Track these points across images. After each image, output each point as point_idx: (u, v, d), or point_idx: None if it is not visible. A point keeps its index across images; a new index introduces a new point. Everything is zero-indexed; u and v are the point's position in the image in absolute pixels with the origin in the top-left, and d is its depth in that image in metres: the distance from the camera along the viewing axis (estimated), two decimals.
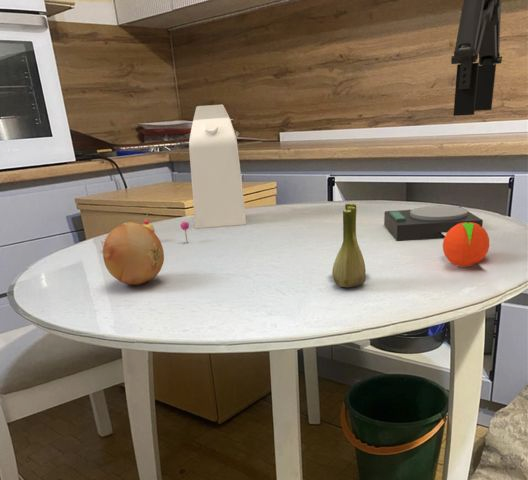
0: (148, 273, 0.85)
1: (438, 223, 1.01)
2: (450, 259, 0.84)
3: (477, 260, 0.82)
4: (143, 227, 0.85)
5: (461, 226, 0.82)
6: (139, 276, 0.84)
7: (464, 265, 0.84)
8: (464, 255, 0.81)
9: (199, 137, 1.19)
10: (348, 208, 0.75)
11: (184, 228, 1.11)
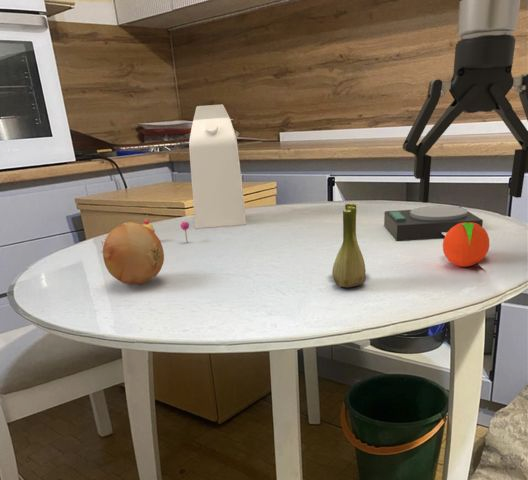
0: (148, 273, 0.85)
1: (438, 223, 1.01)
2: (450, 259, 0.84)
3: (477, 260, 0.82)
4: (143, 227, 0.85)
5: (461, 226, 0.82)
6: (139, 276, 0.84)
7: (464, 265, 0.84)
8: (464, 255, 0.81)
9: (199, 137, 1.19)
10: (348, 208, 0.75)
11: (184, 228, 1.11)
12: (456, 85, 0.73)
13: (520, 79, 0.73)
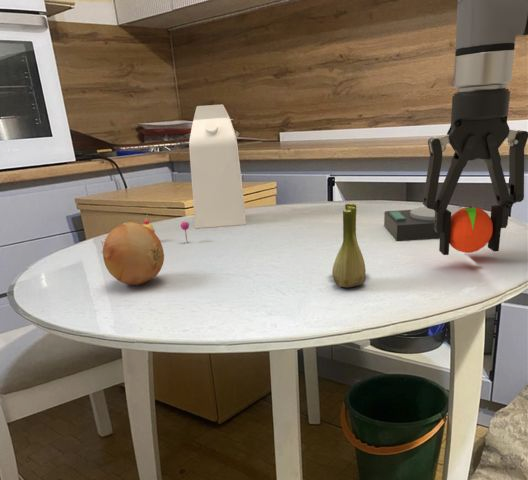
0: (148, 273, 0.85)
1: None
2: (453, 245, 0.83)
3: (481, 245, 0.81)
4: (143, 227, 0.85)
5: (464, 211, 0.81)
6: (139, 276, 0.84)
7: (468, 251, 0.82)
8: (468, 240, 0.80)
9: (199, 137, 1.19)
10: (348, 208, 0.75)
11: (184, 228, 1.11)
12: (454, 135, 0.76)
13: (515, 133, 0.76)
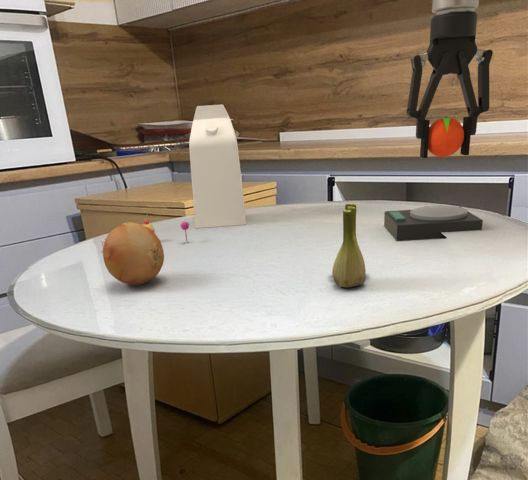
0: (148, 274, 0.85)
1: (438, 223, 1.01)
2: (431, 149, 0.99)
3: (454, 149, 0.98)
4: (143, 227, 0.85)
5: (440, 120, 0.97)
6: (139, 276, 0.84)
7: (443, 154, 0.99)
8: (443, 143, 0.97)
9: (199, 137, 1.19)
10: (348, 208, 0.75)
11: (184, 228, 1.11)
12: (432, 52, 0.92)
13: (482, 52, 0.93)
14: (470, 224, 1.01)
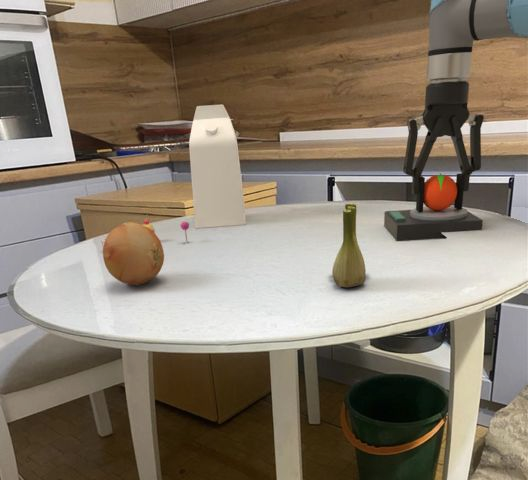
0: (148, 274, 0.85)
1: (438, 223, 1.01)
2: (426, 204, 1.06)
3: (447, 204, 1.04)
4: (143, 227, 0.85)
5: (435, 177, 1.04)
6: (139, 276, 0.84)
7: (437, 209, 1.05)
8: (437, 199, 1.03)
9: (199, 137, 1.19)
10: (348, 208, 0.75)
11: (184, 228, 1.11)
12: (426, 117, 0.99)
13: (473, 116, 0.99)
14: (470, 224, 1.01)
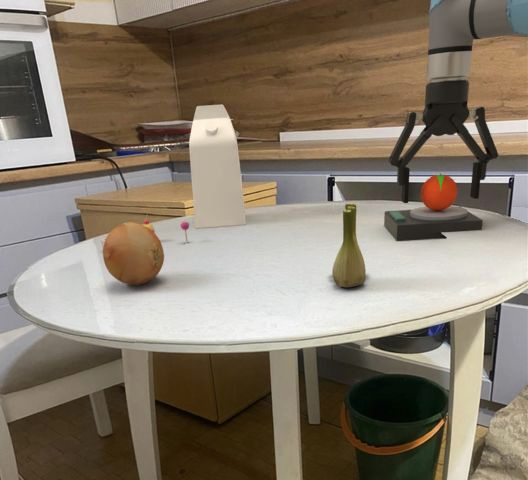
0: (148, 273, 0.85)
1: (438, 223, 1.01)
2: (426, 204, 1.06)
3: (447, 204, 1.04)
4: (143, 227, 0.85)
5: (435, 177, 1.04)
6: (139, 276, 0.84)
7: (437, 209, 1.05)
8: (437, 199, 1.03)
9: (199, 137, 1.19)
10: (348, 208, 0.75)
11: (184, 228, 1.11)
12: (426, 116, 0.98)
13: (474, 111, 0.98)
14: (470, 224, 1.01)
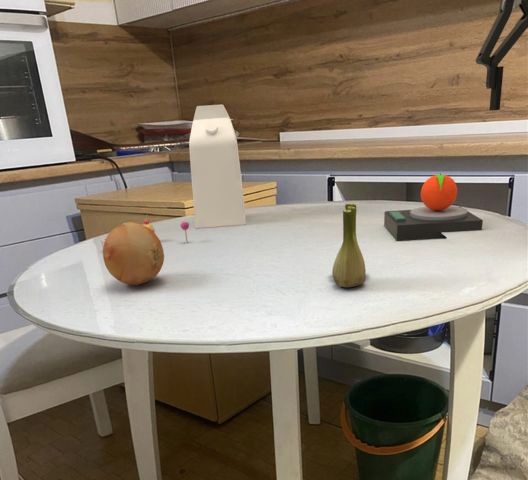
0: (148, 273, 0.85)
1: (438, 223, 1.01)
2: (426, 204, 1.06)
3: (447, 204, 1.04)
4: (143, 227, 0.85)
5: (435, 177, 1.04)
6: (139, 276, 0.84)
7: (437, 209, 1.05)
8: (437, 199, 1.03)
9: (199, 137, 1.19)
10: (348, 208, 0.75)
11: (184, 228, 1.11)
12: None
13: None
14: (470, 224, 1.01)
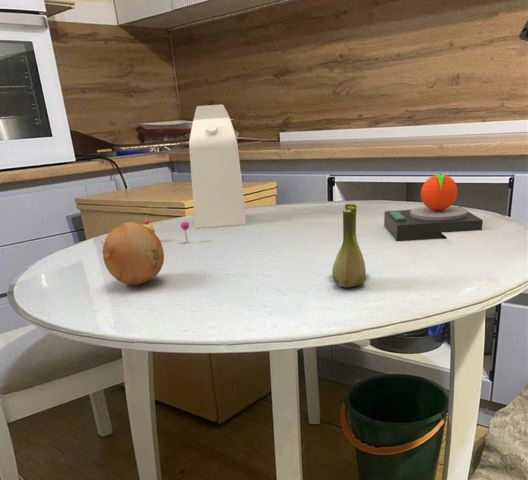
0: (148, 273, 0.85)
1: (438, 223, 1.01)
2: (426, 204, 1.06)
3: (447, 204, 1.04)
4: (143, 227, 0.85)
5: (435, 177, 1.04)
6: (139, 276, 0.84)
7: (437, 209, 1.05)
8: (437, 199, 1.03)
9: (199, 137, 1.19)
10: (348, 208, 0.75)
11: (184, 228, 1.11)
12: None
13: None
14: (470, 224, 1.01)
